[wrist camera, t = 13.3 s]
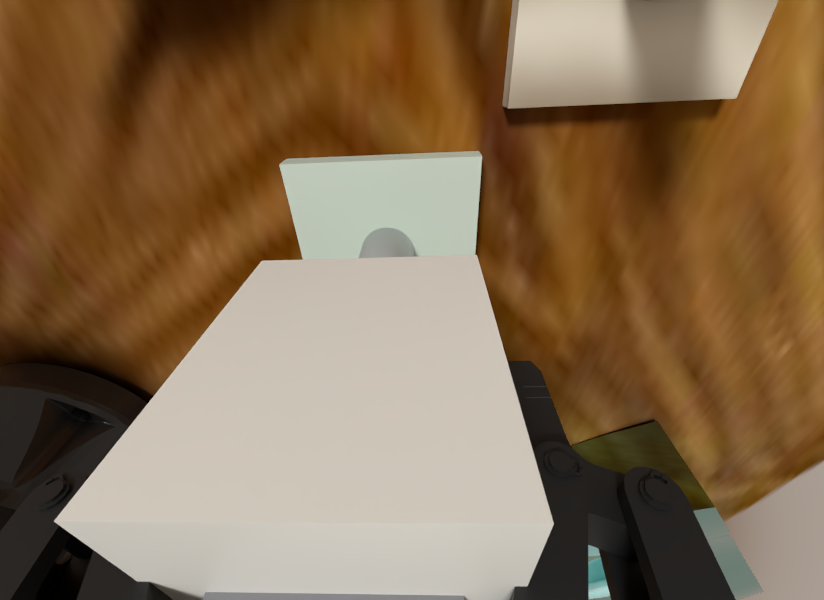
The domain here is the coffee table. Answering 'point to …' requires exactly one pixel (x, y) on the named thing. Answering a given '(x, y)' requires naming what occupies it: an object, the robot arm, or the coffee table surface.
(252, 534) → the white drawer box
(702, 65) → the post
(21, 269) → the coffee table surface
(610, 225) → the coffee table surface
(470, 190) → the post
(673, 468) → the sailboat water diorama
